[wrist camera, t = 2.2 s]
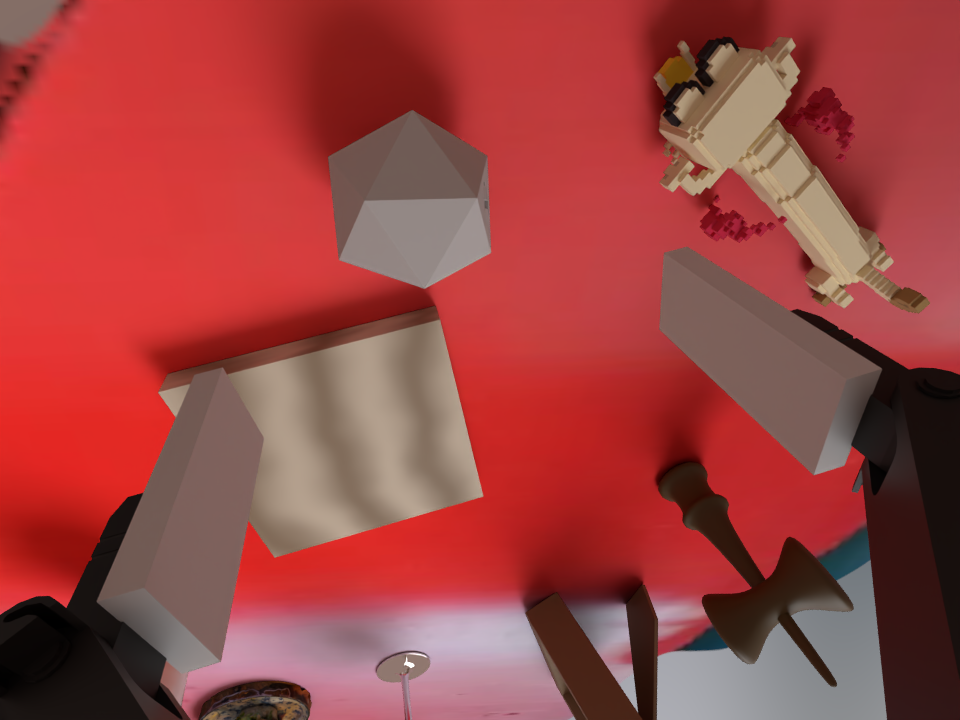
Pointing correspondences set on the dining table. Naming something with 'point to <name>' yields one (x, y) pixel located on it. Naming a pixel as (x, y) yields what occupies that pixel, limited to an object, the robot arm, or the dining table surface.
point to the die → (411, 201)
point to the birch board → (350, 429)
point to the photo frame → (598, 660)
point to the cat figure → (768, 160)
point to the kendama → (754, 575)
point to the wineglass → (404, 673)
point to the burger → (259, 702)
